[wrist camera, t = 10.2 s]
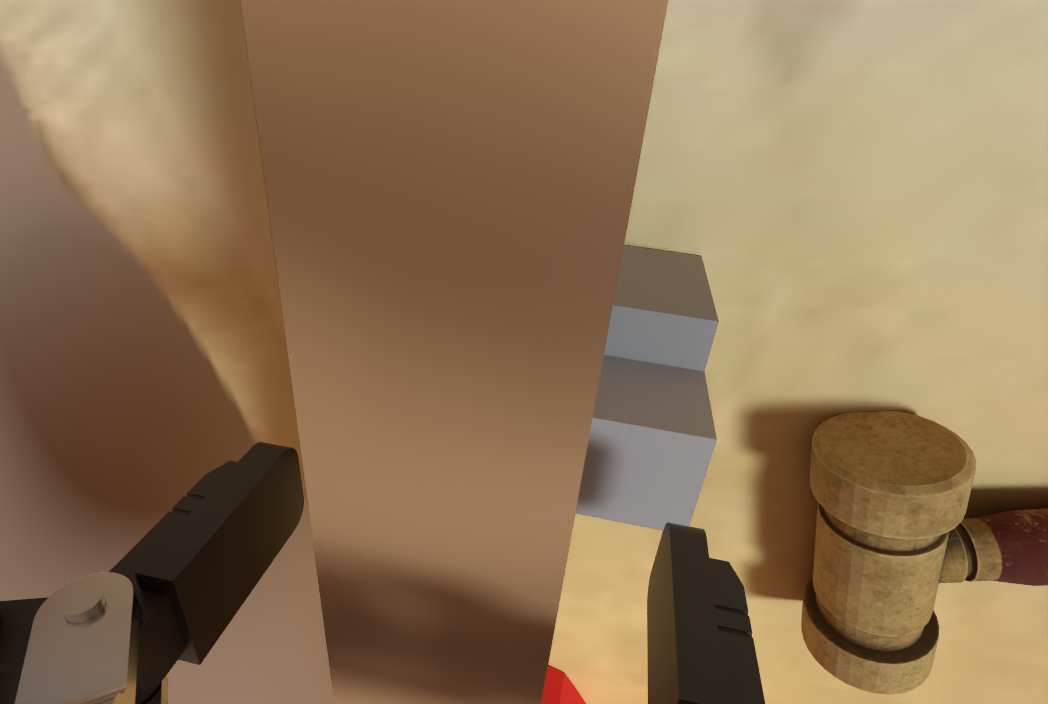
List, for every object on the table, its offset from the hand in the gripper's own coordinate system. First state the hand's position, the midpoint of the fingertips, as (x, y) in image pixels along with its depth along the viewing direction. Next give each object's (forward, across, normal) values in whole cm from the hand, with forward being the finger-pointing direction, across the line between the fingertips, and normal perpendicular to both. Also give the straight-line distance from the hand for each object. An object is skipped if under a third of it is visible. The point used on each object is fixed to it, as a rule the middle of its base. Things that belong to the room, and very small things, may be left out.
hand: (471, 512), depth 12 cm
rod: (+2, 0, 0) cm, 2 cm away
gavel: (+11, -21, +4) cm, 24 cm away
